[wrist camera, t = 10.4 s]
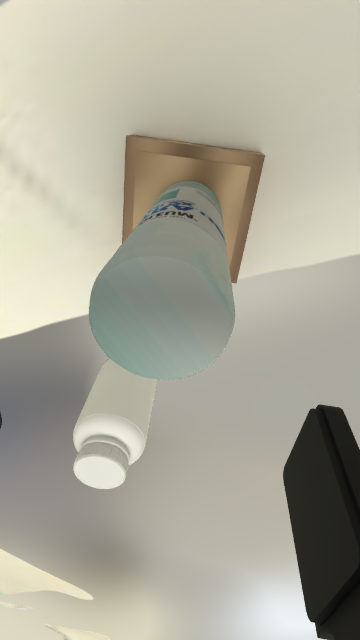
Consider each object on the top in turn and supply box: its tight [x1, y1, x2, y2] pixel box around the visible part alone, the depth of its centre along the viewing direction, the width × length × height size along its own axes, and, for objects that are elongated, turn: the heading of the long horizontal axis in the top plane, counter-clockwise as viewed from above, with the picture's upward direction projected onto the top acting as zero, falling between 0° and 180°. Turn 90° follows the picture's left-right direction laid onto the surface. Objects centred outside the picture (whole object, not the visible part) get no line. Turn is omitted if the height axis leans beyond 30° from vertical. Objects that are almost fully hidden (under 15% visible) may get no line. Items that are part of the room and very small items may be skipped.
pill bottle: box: [73, 359, 157, 489], centre depth 40 cm, size 8×8×15 cm
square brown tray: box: [122, 135, 265, 283], centre depth 33 cm, size 12×12×3 cm
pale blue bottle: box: [89, 181, 235, 380], centre depth 23 cm, size 6×6×20 cm
